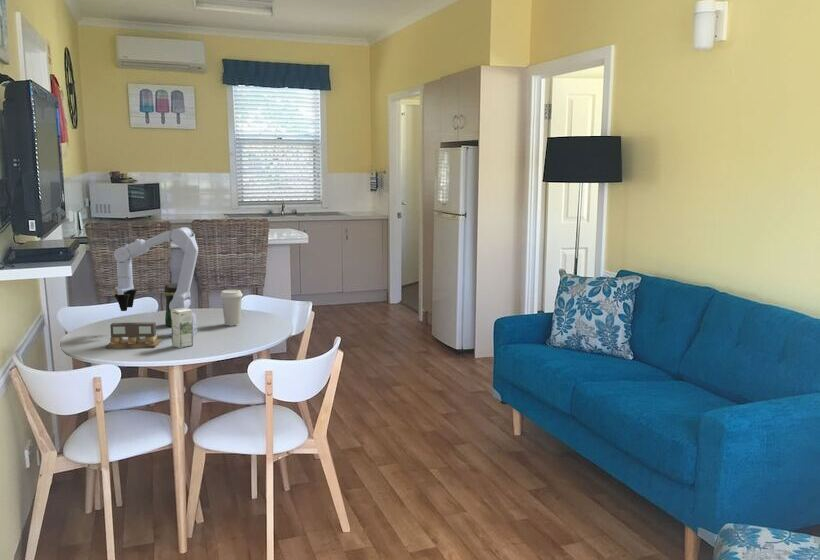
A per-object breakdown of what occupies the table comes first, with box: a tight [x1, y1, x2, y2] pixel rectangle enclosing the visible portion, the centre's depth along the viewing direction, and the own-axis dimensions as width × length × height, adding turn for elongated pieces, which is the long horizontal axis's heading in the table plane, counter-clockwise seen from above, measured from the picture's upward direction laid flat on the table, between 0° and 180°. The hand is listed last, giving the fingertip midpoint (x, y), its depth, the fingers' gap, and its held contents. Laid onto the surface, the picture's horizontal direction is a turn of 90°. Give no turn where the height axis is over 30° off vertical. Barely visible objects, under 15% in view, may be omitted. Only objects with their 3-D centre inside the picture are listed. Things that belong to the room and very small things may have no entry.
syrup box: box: [170, 308, 194, 349], centre depth 263 cm, size 6×6×14 cm
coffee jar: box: [163, 282, 178, 327], centre depth 299 cm, size 10×8×19 cm
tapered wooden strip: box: [110, 321, 157, 338], centre depth 265 cm, size 16×3×5 cm, turn 95°
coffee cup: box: [219, 289, 244, 326], centre depth 301 cm, size 10×10×15 cm
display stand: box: [105, 333, 162, 349], centre depth 265 cm, size 18×10×4 cm, turn 95°
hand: (126, 309), depth 282 cm, fingers open, 7 cm apart
